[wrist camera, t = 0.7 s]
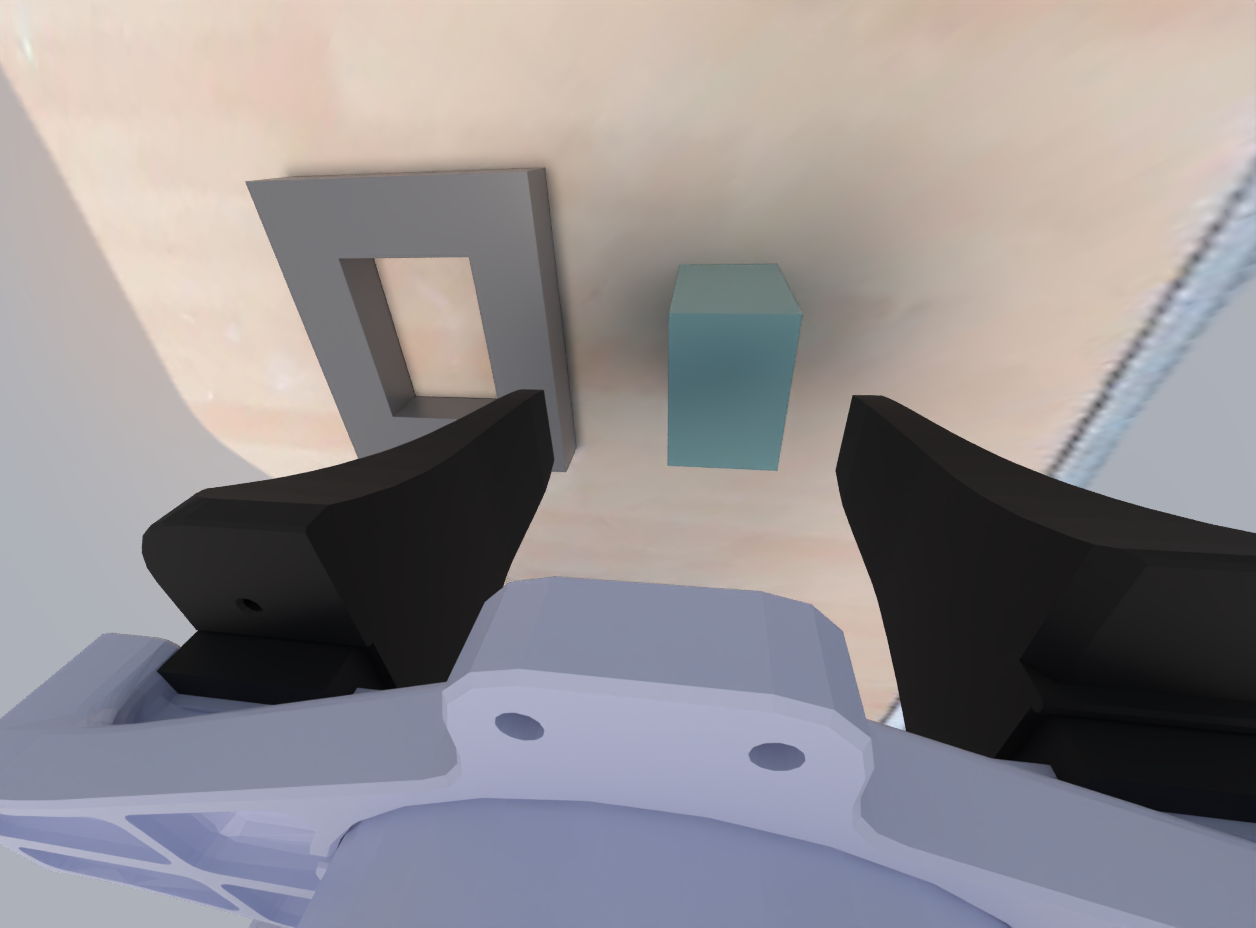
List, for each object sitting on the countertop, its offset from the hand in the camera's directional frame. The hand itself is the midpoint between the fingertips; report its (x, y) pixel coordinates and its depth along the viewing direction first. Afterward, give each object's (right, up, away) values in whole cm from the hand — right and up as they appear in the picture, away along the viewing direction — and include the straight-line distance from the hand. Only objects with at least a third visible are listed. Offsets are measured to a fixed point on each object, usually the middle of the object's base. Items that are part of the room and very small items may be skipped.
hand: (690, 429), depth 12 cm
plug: (+2, +4, +8) cm, 9 cm away
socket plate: (-9, +5, +9) cm, 14 cm away
